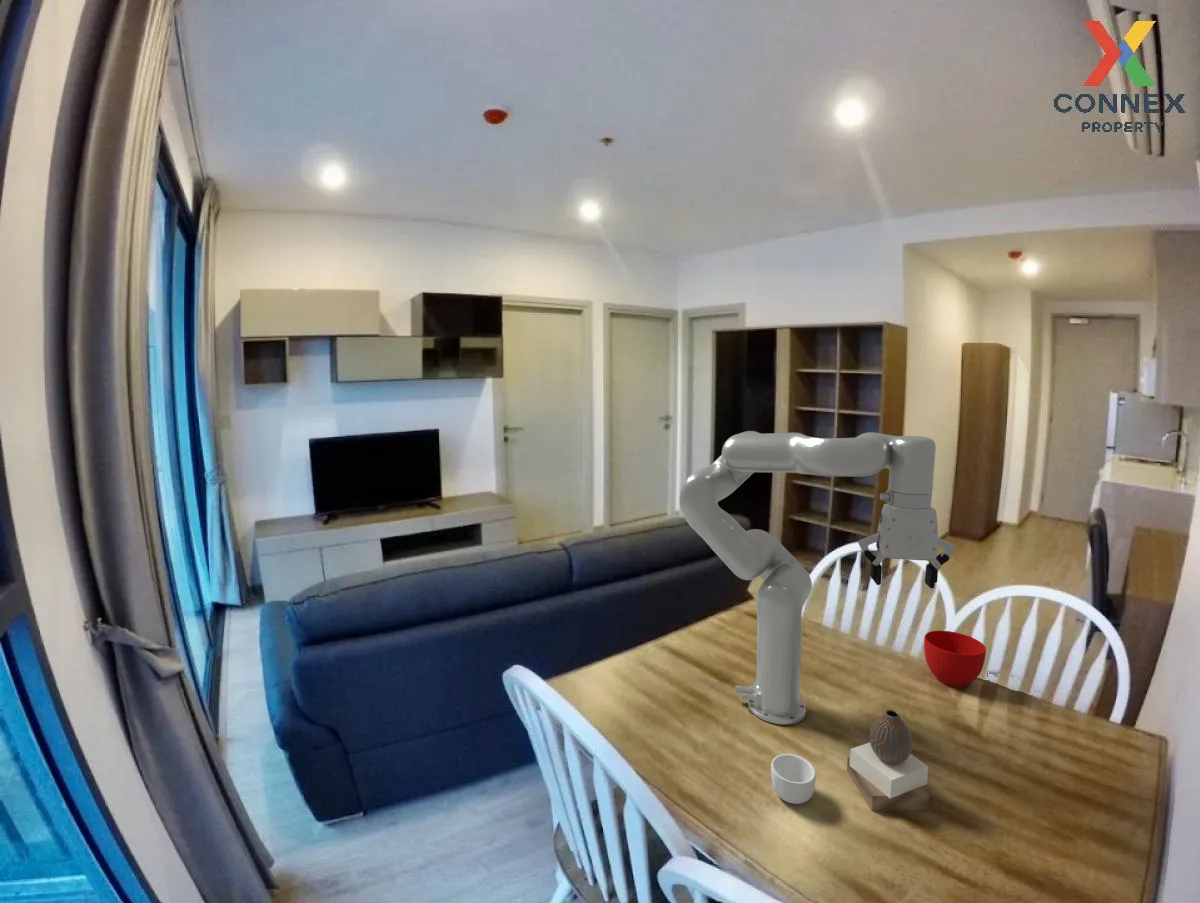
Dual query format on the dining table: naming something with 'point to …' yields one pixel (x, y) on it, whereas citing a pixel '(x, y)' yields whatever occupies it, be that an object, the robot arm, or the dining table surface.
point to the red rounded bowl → (954, 657)
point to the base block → (881, 802)
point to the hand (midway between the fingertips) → (902, 584)
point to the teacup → (793, 778)
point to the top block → (888, 771)
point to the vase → (890, 738)
